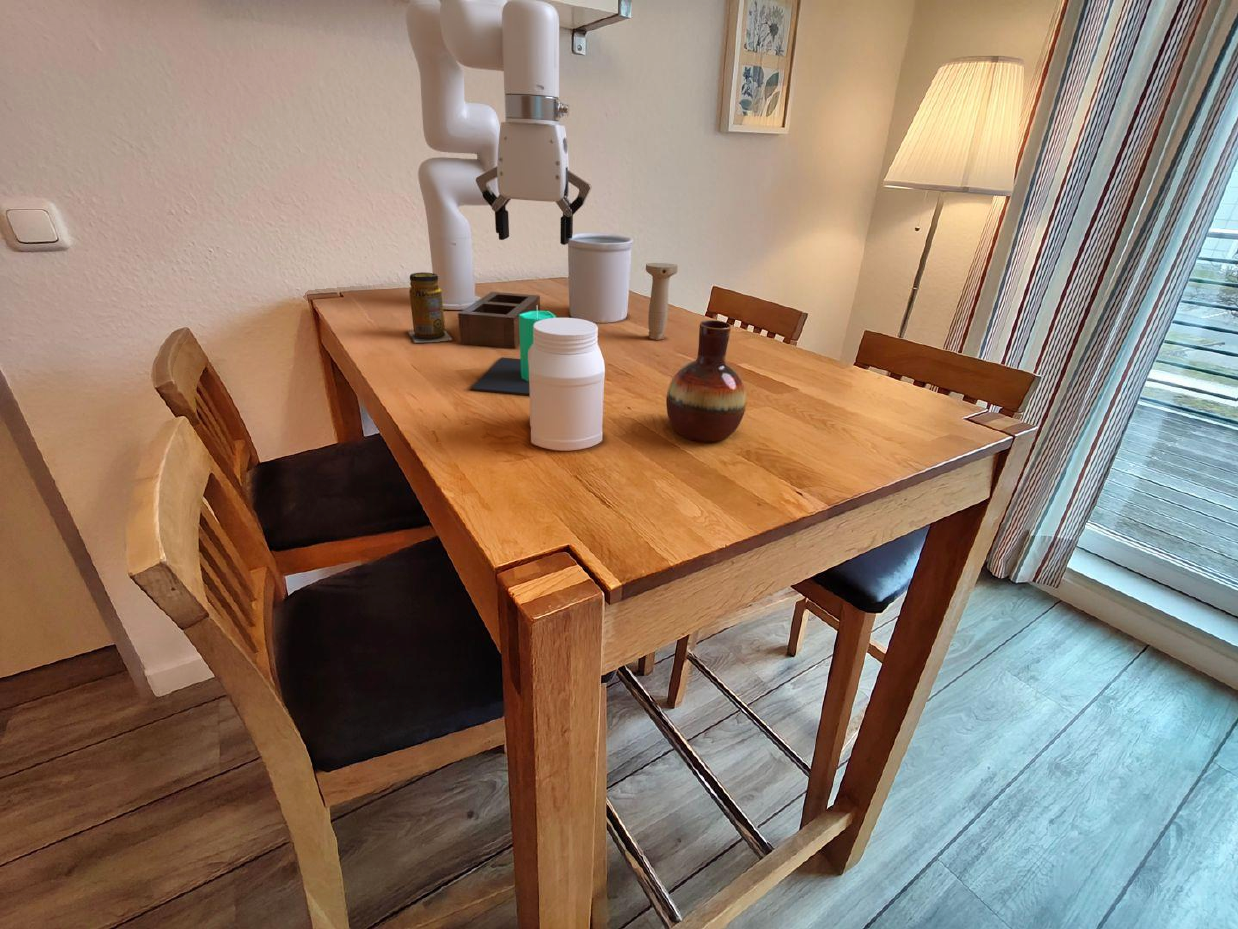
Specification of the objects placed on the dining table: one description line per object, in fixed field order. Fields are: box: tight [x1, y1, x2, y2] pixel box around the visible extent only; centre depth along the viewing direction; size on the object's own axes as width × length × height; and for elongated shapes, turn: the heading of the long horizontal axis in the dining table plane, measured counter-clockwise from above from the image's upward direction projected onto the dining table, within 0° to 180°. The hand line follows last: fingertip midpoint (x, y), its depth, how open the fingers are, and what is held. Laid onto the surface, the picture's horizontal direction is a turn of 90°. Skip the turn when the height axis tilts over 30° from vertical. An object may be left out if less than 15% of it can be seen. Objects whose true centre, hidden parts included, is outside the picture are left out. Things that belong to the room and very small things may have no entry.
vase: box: [665, 319, 747, 443], centre depth 80 cm, size 11×11×15 cm
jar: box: [528, 317, 606, 452], centre depth 78 cm, size 12×10×15 cm
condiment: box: [407, 272, 453, 344], centre depth 115 cm, size 7×8×12 cm
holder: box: [457, 291, 541, 349], centre depth 122 cm, size 11×20×6 cm, turn 173°
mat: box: [470, 357, 530, 397], centre depth 100 cm, size 18×16×1 cm
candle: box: [519, 305, 557, 381], centre depth 97 cm, size 6×6×12 cm
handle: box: [645, 262, 679, 341], centre depth 121 cm, size 5×6×15 cm
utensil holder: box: [566, 232, 634, 324], centre depth 135 cm, size 15×15×18 cm
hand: (534, 241), depth 90 cm, fingers open, 9 cm apart
